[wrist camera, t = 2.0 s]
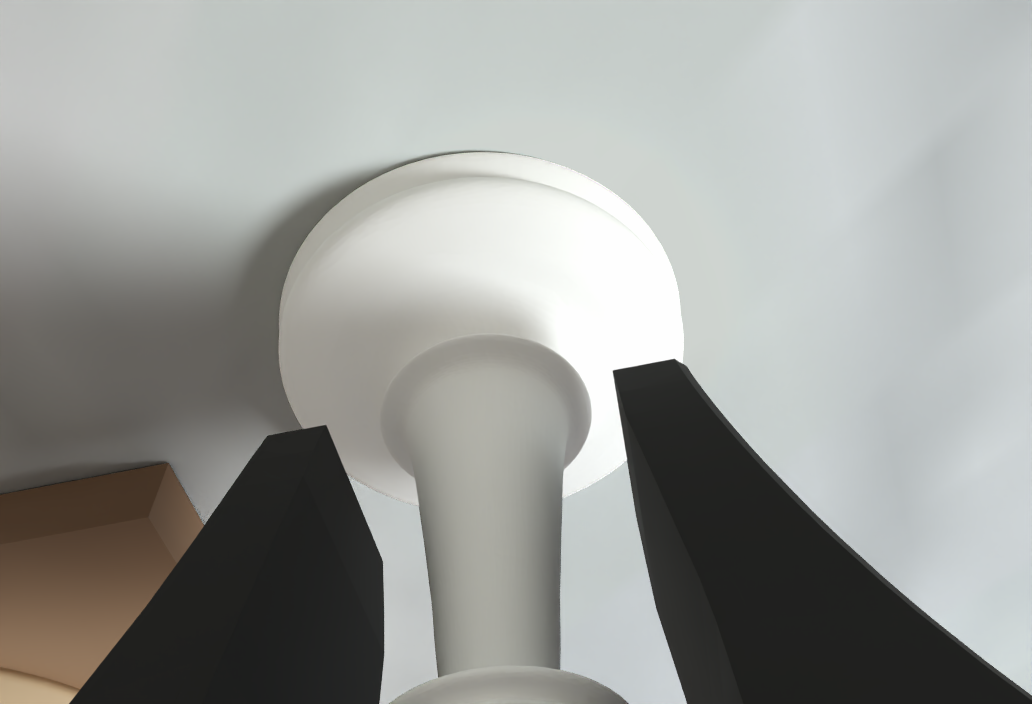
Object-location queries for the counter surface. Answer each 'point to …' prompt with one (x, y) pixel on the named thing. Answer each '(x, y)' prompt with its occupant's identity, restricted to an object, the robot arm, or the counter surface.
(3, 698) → the pedestal
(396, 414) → the chess piece
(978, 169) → the counter surface
